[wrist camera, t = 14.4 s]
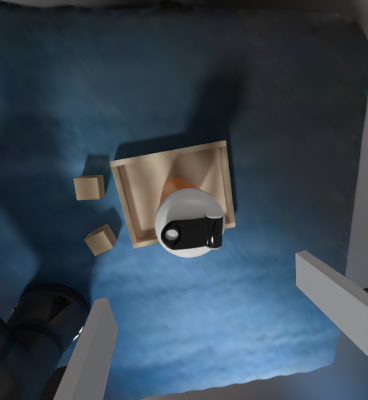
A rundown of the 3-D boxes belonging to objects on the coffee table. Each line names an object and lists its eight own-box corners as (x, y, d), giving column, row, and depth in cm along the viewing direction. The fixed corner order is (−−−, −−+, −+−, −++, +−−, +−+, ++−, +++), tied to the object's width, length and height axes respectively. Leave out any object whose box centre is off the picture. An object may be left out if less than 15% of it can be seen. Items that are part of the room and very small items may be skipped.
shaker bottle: (152, 177, 40) (146, 204, 20) (196, 169, 40) (229, 189, 21) (161, 218, 42) (162, 277, 23) (202, 210, 43) (236, 261, 23)
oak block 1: (85, 195, 40) (77, 200, 36) (82, 175, 39) (73, 178, 35) (105, 194, 40) (99, 199, 37) (103, 174, 39) (96, 177, 36)
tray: (135, 241, 44) (133, 248, 41) (113, 160, 39) (109, 161, 36) (230, 221, 45) (235, 226, 42) (220, 141, 40) (225, 140, 37)
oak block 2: (100, 246, 43) (94, 256, 39) (90, 231, 42) (84, 239, 38) (117, 238, 43) (113, 247, 39) (108, 223, 42) (102, 231, 38)
